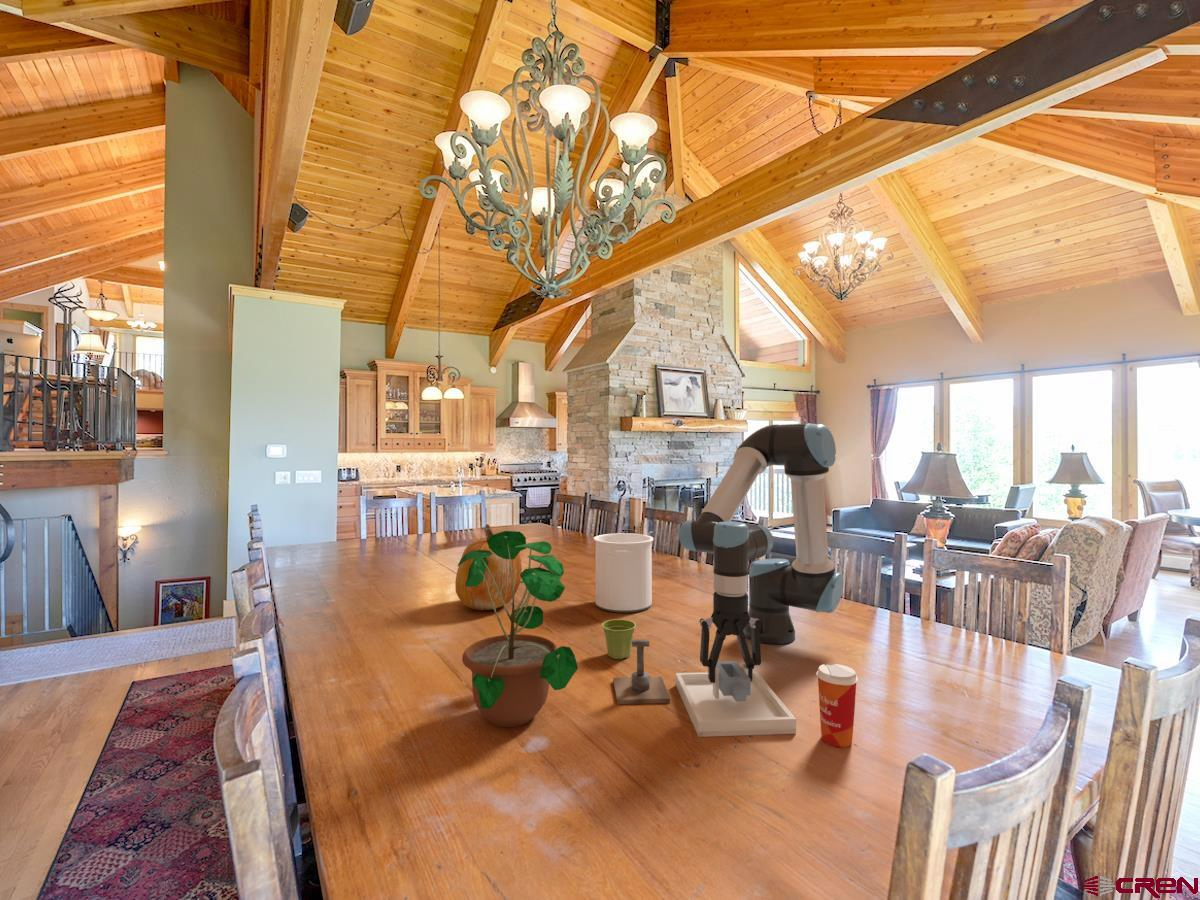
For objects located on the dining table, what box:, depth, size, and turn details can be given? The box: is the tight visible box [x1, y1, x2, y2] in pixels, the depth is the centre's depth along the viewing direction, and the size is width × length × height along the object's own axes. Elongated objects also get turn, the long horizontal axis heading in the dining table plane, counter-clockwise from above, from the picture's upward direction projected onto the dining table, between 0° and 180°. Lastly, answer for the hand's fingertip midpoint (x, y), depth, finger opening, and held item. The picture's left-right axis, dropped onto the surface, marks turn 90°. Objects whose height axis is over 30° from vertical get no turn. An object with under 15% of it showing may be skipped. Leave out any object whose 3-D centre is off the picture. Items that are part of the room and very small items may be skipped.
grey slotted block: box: [716, 660, 751, 702], centre depth 124 cm, size 13×6×3 cm, turn 3°
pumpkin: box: [455, 524, 523, 611], centre depth 204 cm, size 26×23×30 cm
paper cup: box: [815, 663, 859, 749], centre depth 112 cm, size 8×8×14 cm
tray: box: [675, 670, 797, 738], centre depth 126 cm, size 20×24×3 cm
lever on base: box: [612, 638, 671, 705], centre depth 134 cm, size 12×12×12 cm
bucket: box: [593, 532, 654, 614], centre depth 205 cm, size 26×22×24 cm
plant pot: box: [601, 618, 637, 660], centre depth 157 cm, size 9×9×9 cm
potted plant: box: [457, 530, 579, 728], centre depth 123 cm, size 31×29×40 cm
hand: (730, 695), depth 126 cm, fingers closed on grey slotted block, 6 cm apart
